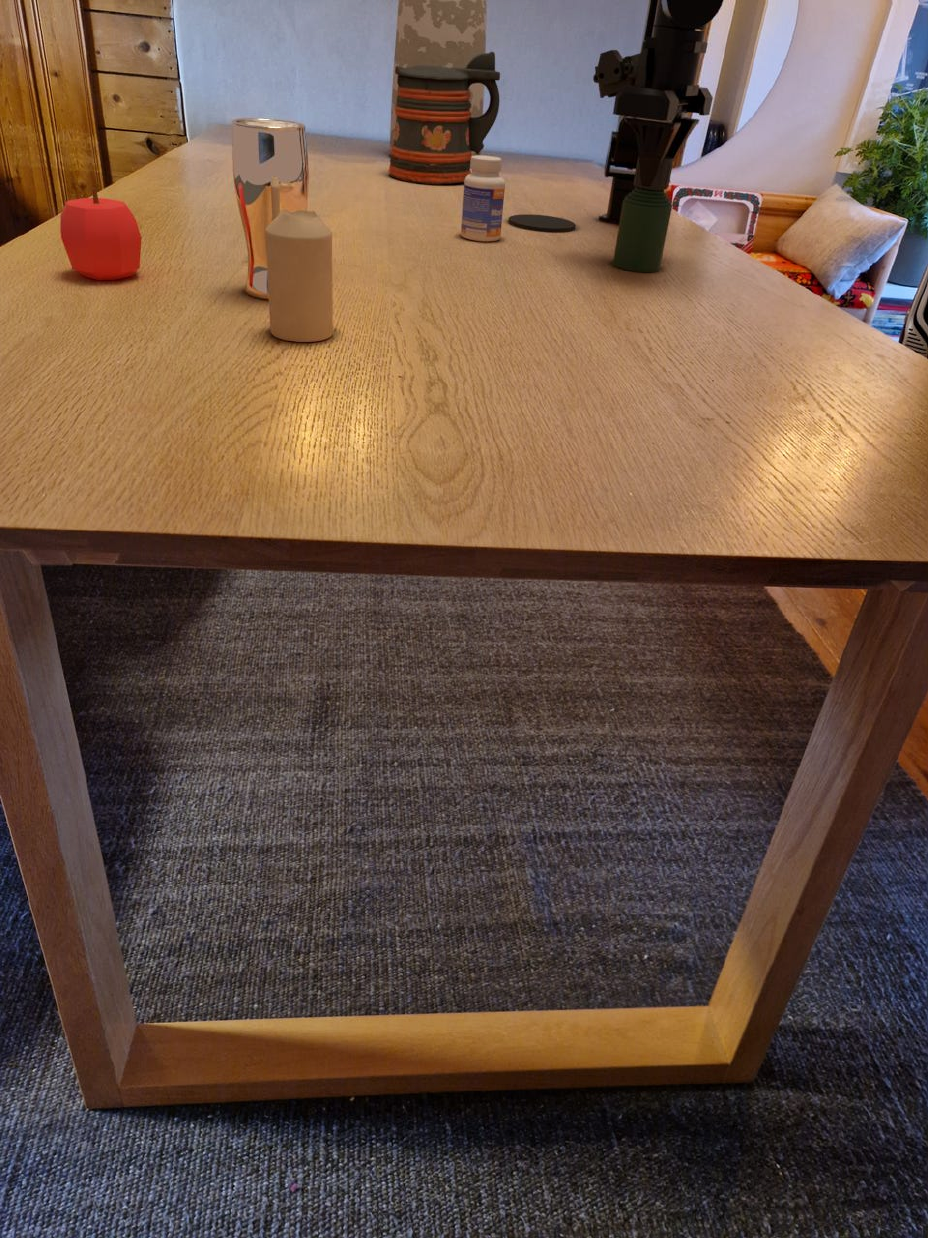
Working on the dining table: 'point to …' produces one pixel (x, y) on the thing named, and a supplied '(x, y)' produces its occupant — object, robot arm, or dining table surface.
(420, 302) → the dining table surface
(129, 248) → the apple
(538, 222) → the coaster
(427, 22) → the vase
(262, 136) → the beer glass
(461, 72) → the beer stein
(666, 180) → the cap
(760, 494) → the dining table surface
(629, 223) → the bottle
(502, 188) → the pill bottle
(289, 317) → the candle
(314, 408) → the dining table surface
